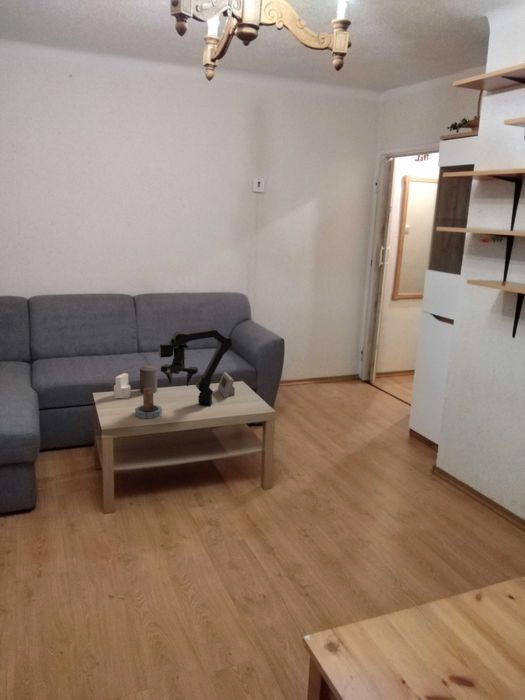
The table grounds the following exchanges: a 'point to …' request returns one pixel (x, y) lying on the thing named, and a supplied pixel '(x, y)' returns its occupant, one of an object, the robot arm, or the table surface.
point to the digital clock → (226, 385)
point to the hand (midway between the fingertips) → (179, 385)
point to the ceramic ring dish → (148, 415)
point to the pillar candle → (148, 378)
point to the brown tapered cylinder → (148, 400)
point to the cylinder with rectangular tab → (122, 387)
